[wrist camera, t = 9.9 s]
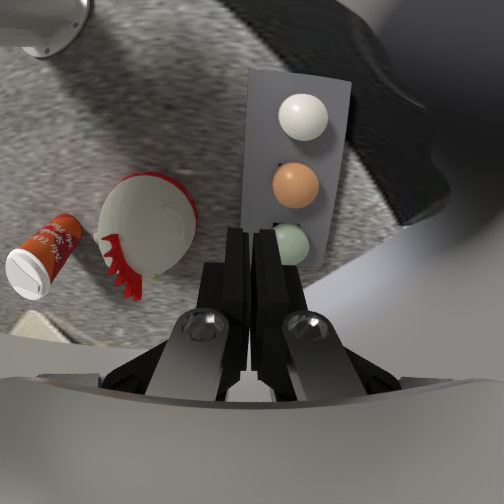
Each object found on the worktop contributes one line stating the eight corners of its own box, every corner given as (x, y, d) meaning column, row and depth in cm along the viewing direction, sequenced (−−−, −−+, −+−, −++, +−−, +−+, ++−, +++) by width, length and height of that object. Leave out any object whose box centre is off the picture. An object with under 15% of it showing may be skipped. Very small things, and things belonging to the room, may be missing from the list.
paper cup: (92, 219, 41) (48, 272, 29) (82, 256, 44) (44, 311, 33) (53, 199, 39) (2, 244, 27) (46, 237, 42) (2, 285, 30)
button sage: (266, 211, 40) (269, 228, 36) (304, 214, 40) (312, 231, 36) (263, 245, 43) (266, 265, 38) (299, 247, 43) (305, 266, 39)
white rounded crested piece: (133, 267, 46) (102, 334, 33) (93, 193, 39) (39, 244, 26) (212, 243, 44) (200, 313, 31) (174, 156, 37) (138, 197, 24)
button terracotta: (271, 153, 36) (275, 163, 32) (312, 156, 36) (321, 167, 32) (268, 192, 39) (271, 207, 34) (307, 194, 39) (315, 209, 35)
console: (248, 70, 32) (249, 69, 29) (343, 82, 32) (351, 82, 30) (239, 254, 45) (238, 265, 42) (317, 256, 46) (321, 267, 43)
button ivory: (276, 91, 32) (281, 91, 27) (319, 95, 32) (330, 97, 28) (273, 131, 34) (277, 138, 30) (314, 135, 35) (325, 143, 30)
